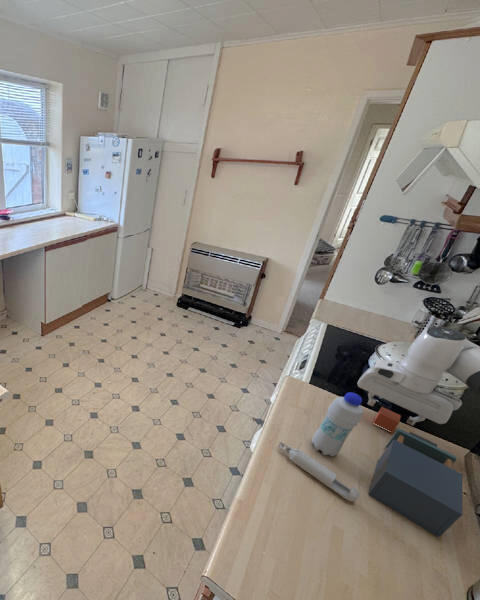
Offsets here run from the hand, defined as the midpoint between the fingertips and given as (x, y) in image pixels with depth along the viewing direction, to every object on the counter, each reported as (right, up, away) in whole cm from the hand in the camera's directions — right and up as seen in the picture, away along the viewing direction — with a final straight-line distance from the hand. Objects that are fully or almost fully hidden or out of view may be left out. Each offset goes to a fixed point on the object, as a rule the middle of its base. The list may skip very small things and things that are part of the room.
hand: (389, 413), depth 98 cm
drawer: (-6, -10, -13) cm, 17 cm away
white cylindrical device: (-35, -10, -15) cm, 39 cm away
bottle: (-27, -7, -8) cm, 29 cm away
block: (0, -4, +2) cm, 5 cm away
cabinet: (-14, -13, -19) cm, 27 cm away
